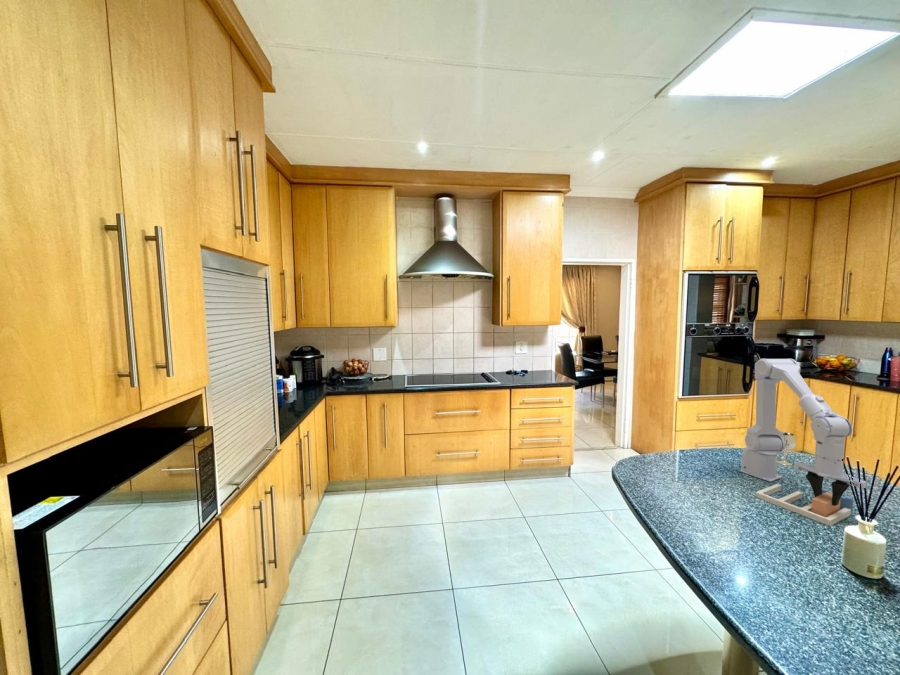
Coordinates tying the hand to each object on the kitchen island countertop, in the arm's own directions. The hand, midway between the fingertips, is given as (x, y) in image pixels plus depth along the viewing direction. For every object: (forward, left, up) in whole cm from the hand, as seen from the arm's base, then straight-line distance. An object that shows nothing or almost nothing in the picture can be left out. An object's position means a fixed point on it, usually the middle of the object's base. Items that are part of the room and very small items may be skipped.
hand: (826, 501), depth 104 cm
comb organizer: (-5, 0, -4) cm, 7 cm away
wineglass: (-23, +33, -4) cm, 40 cm away
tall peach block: (0, 0, -3) cm, 3 cm away
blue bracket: (0, +7, -4) cm, 8 cm away
